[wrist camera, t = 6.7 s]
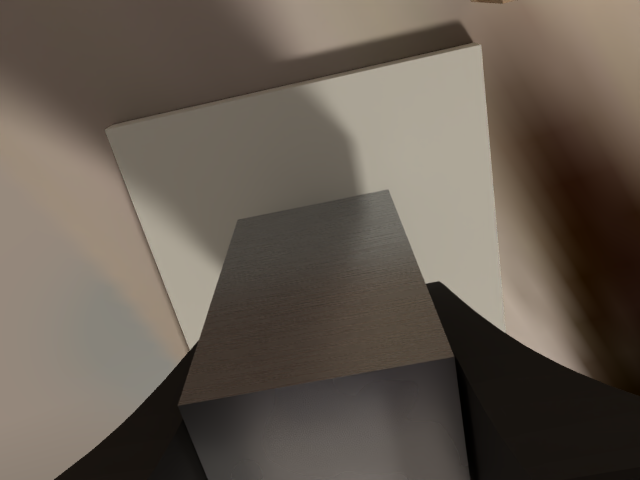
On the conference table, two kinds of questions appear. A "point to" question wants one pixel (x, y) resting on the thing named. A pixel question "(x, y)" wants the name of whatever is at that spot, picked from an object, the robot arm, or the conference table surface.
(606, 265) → the conference table surface
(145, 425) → the robot arm
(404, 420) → the key peg
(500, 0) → the holder block
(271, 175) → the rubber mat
